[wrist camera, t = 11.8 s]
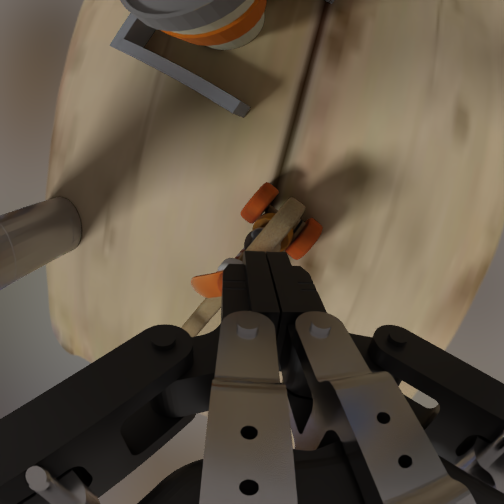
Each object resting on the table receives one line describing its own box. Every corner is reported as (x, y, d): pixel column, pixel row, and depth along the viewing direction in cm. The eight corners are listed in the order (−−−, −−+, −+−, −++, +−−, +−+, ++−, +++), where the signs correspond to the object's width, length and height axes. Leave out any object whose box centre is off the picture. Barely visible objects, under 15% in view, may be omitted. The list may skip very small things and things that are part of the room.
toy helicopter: (329, 216, 35) (337, 256, 23) (228, 327, 43) (195, 392, 30) (275, 171, 35) (251, 185, 22) (182, 291, 43) (134, 346, 30)
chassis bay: (337, -4, 26) (340, -26, 21) (243, 117, 34) (230, 112, 28) (213, -54, 25) (200, -74, 20) (130, 53, 33) (105, 44, 27)
